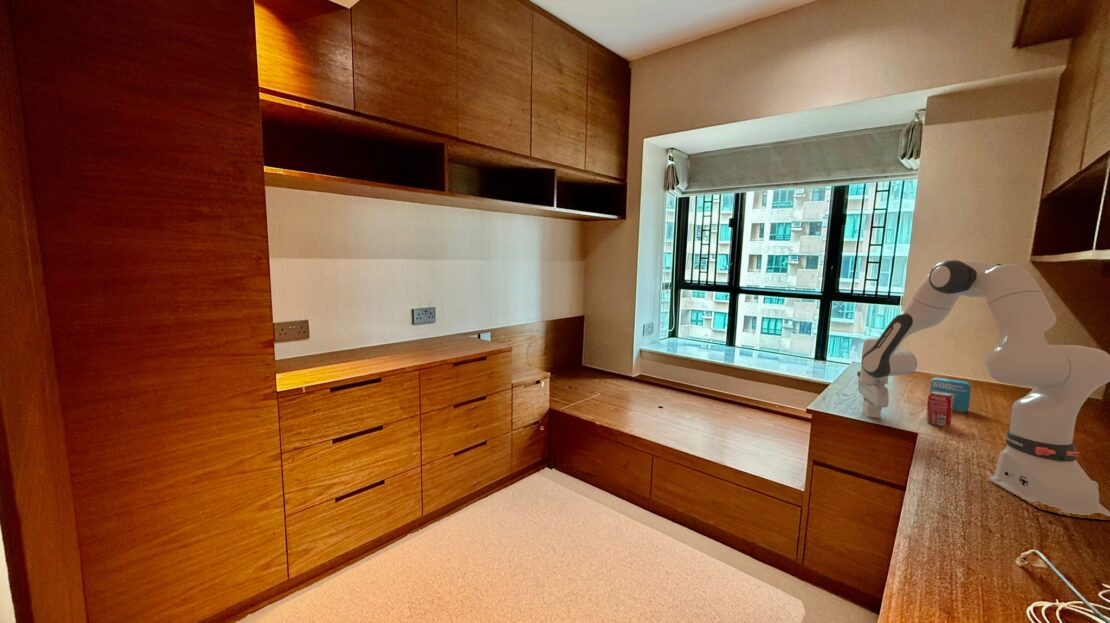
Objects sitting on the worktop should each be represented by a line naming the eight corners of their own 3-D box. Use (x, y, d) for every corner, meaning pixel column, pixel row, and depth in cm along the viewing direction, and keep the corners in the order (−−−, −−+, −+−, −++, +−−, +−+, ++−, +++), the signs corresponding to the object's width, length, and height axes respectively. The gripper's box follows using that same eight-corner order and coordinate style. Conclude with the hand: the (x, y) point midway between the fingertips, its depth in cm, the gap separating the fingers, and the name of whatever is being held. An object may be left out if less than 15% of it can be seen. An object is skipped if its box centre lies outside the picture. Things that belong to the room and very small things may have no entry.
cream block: (880, 417, 167) (881, 405, 166) (866, 416, 168) (867, 404, 168) (875, 413, 171) (876, 401, 170) (862, 412, 172) (863, 400, 172)
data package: (928, 406, 179) (930, 378, 178) (929, 403, 182) (932, 376, 181) (967, 413, 170) (970, 384, 169) (968, 410, 173) (971, 382, 172)
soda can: (940, 420, 163) (943, 390, 161) (956, 427, 156) (959, 396, 154) (920, 420, 163) (923, 390, 162) (935, 427, 156) (938, 395, 155)
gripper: (895, 385, 157) (892, 421, 159) (873, 371, 176) (871, 404, 178) (875, 383, 159) (872, 419, 161) (855, 370, 178) (853, 402, 180)
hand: (871, 411), depth 169 cm, fingers open, 8 cm apart
